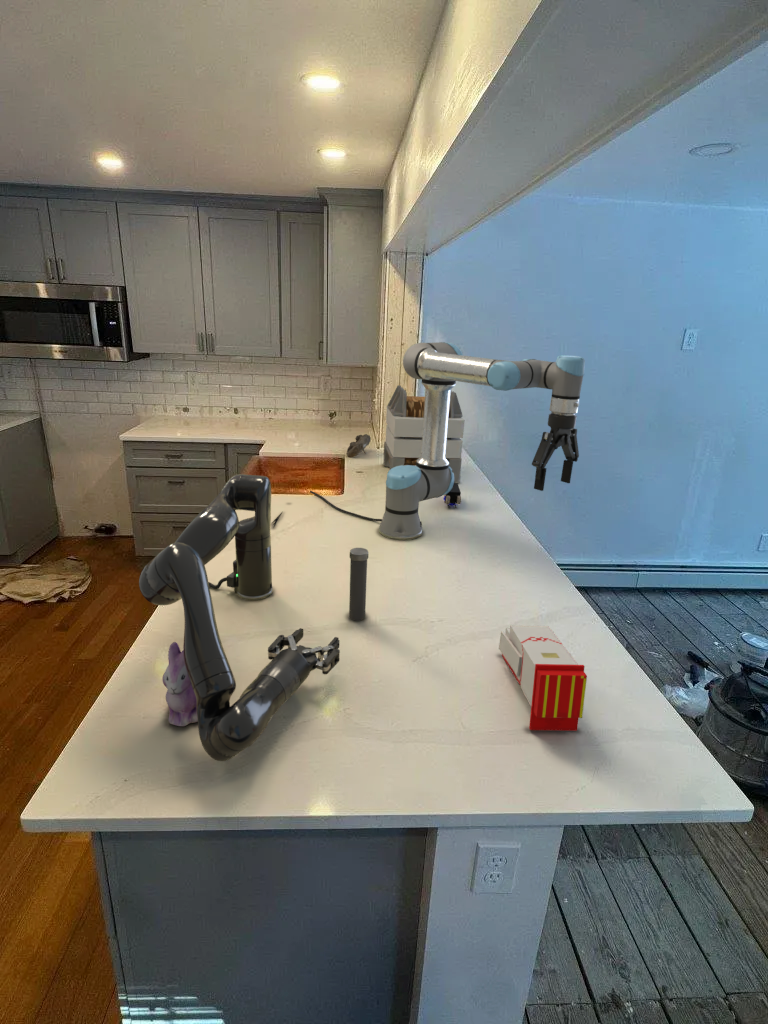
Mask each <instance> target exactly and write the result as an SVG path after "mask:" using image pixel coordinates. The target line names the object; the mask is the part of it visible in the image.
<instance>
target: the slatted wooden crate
mask: <svg viewBox="0 0 768 1024" xmlns="http://www.w3.org/2000/svg"><path fill="white" fill-rule="evenodd" d="M407 394H408V393H407V390H406V389H404V388H403V387H402V385H399V384H398V385H397V386H396V388H395V390H394V392H393V394H392V395H391V398H390V400H389V402H388V404H387V405H386V413H385V414H386V415H385V423H386V428H385V438H384V442H383V466H384V467H388V468H389V470H390V469H392V468H394V467H396V466H401V465H404V466H405V465H413V466H416V461H417V459H418V458H420V457H421V449H422V434H423V419H424V404H425V396H415V395H414V396H413V395H412V396H411V395H407ZM464 429H465V419H464V418H463V411H462V408H461V405H460V402H459V398H458V395H457V392H455V391H453V390H451V392H450V404H449V416H448V428H447V441H446V453H445V458H446V459H447V461H448V462H449V466H450V467H451V469H452V473H454V483H458V484H459V483H461V472H462V461H463V460H462V453H463V442H464V441H463V440H462V439H463V438H464V431H465V430H464Z"/></svg>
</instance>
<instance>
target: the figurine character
mask: <svg viewBox="0 0 768 1024" xmlns="http://www.w3.org/2000/svg"><path fill="white" fill-rule="evenodd" d="M442 499H443V501H444V504H445V505H447V509H450V507H451V506H454V509H457V508H458V506H457V505H461V504H462V496H461V488H460V486H459V483H454V484H453V487H452V489H451V490H450V491H449V492H448V493H447V494H445V495H443V498H442Z"/></svg>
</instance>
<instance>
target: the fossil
mask: <svg viewBox="0 0 768 1024" xmlns="http://www.w3.org/2000/svg"><path fill="white" fill-rule="evenodd" d="M354 440H355V441H351V442H350V443H349V446H348V447H347V450H346V456H347V457H348V458H352V457H355V456H357V455H359V454H360V453H361V452H363V453H364V454H366V452H365V449H366V448H367V446H369V445H370V443H371V440H372V439H371V436H370V434H367V433H365V434H358V435H356V436H355V438H354Z"/></svg>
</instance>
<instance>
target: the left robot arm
mask: <svg viewBox="0 0 768 1024" xmlns="http://www.w3.org/2000/svg"><path fill="white" fill-rule="evenodd" d="M236 511H247V512H248V511H249V512H254V515H253V516H251V517H248V518H245V519H241V520H239V516H238V513H237V512H236ZM271 523H272V483H271V480H270V478H269V477H267V476H266V475H257V474H245V473H243V474H242V473H238V474H234V475H232V476H231V477H230V478H229V479H228V480H227V482H225V483H224V485H223V487H222V488H221V490H220V491H219V492H218V494H217V495H216V496H215V497H214V498H213V499H212V501H210V503H209V504H207V506H206V507H204V508H203V509H202V510H201V511H200V512H199V513H198V514H196V516H195V517H194V518H193V519H192V520H191V521H190V523H188V525H187V526H186V527H185V528H184V530H183V531H182V532H181V533H180V535H179V536H178V537H177V539H176V540H175V541H174V542H173V543H170V544H169V545H167V546H165V547H164V548H163V549H162V550H161V551H160V552H159V553H157V555H155V556H154V557H153V558H152V559H151V560H150V561H149V562H148V563H146V564H145V566H144V567H143V568H142V569H141V572H140V573H139V578H138V587H139V591H140V594H141V595H142V597H143V598H144V599H145V600H146V601H147V602H149V603H150V604H153V605H157V606H169V605H173V604H176V603H177V602H179V601H182V606H183V613H184V614H183V616H184V617H183V618H184V628H183V630H184V631H183V645H182V647H183V648H182V651H183V653H184V662H185V667H186V671H187V674H188V677H189V680H190V683H191V685H192V688H193V691H194V694H195V696H196V707H197V719H198V722H197V728H198V729H197V730H198V735H199V740H200V743H201V746H202V747H203V749H204V752H205V753H206V754H207V755H208V756H209V757H210V758H211V759H212V760H214V761H216V762H226V761H229V760H231V759H233V758H234V757H236V756H237V755H238V754H240V753H242V752H243V751H245V749H247V748H249V747H250V746H252V745H253V744H254V743H255V742H256V741H257V740H258V739H259V738H260V736H261V735H262V734H263V733H264V731H265V730H266V728H267V727H268V725H269V722H270V721H271V719H272V717H274V716H275V714H276V713H277V712H278V711H279V709H281V707H282V706H283V705H284V704H285V703H286V702H287V701H288V700H289V699H291V698H292V696H293V695H294V694H295V693H296V692H297V690H298V689H299V688H300V687H301V686H302V685H303V683H304V682H305V681H306V680H307V678H308V677H309V676H310V673H311V672H312V671H314V670H316V669H317V670H321V674H322V675H327V674H329V673H330V672H331V671H332V670H333V669H334V667H336V665H337V664H338V663H339V662H340V660H341V659H340V653H341V649H339V648H340V642H341V641H340V640H339V637H337V636H334V638H332V640H331V641H330V642H329V643H328V644H327V645H326V646H323V647H322V646H321V645H320V646H317V647H308V646H305V645H301V644H299V645H297V644H298V643H299V642H300V641H301V640H302V639H303V638H304V628H301V627H299V629H296V630H295V631H293V632H292V634H290V635H288V636H285V635H284V634H279V635H278V636H277V637H276V638H275V639H274V641H272V643H271V644H270V645H269V646H268V647H267V659H268V660H269V662H268V664H266V665H265V667H264V668H262V670H261V671H260V672H259V673H258V675H257V676H256V677H255V678H254V679H253V681H251V682H250V684H249V685H248V686H246V687H245V689H244V690H243V691H242V693H241V694H240V696H239V699H237V700H236V701H235V702H234V703H233V704H232V705H230V704H231V702H230V701H231V698H232V696H233V694H234V693H235V691H236V688H237V682H236V679H235V676H234V672H233V670H232V668H231V665H230V662H229V660H228V657H227V654H226V653H225V652H226V651H225V649H224V646H223V643H222V639H221V636H220V633H219V628H218V623H217V619H216V614H215V608H214V603H213V598H212V593H211V589H213V590H217V589H220V587H221V586H222V584H223V583H224V582H226V586H227V588H231V589H233V590H234V591H233V592H234V594H235V595H237V596H238V597H239V598H241V599H243V600H245V601H258V600H259V601H260V600H263V599H267V598H268V597H269V596H271V595H272V594H273V574H272V572H273V571H272V540H271V539H272V536H271V526H272V524H271ZM233 539H234V545H235V548H234V549H235V560H233V562H232V569H233V570H232V572H230V573H229V574H228V575H227V576H226V577H223V578H221V579H219V581H218V582H217V584H213V583H212V582H210V581H209V577H208V573H207V569H206V565H207V564H208V563H209V562H211V561H212V560H213V559H214V558H215V557H217V556H218V555H219V554H220V553H221V552H223V550H225V548H226V547H227V546H228V545H229V544H230V542H231V541H232V540H233ZM210 588H211V589H210ZM285 647H287V648H285ZM325 653H326V654H325ZM270 660H271V661H270Z"/></svg>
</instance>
